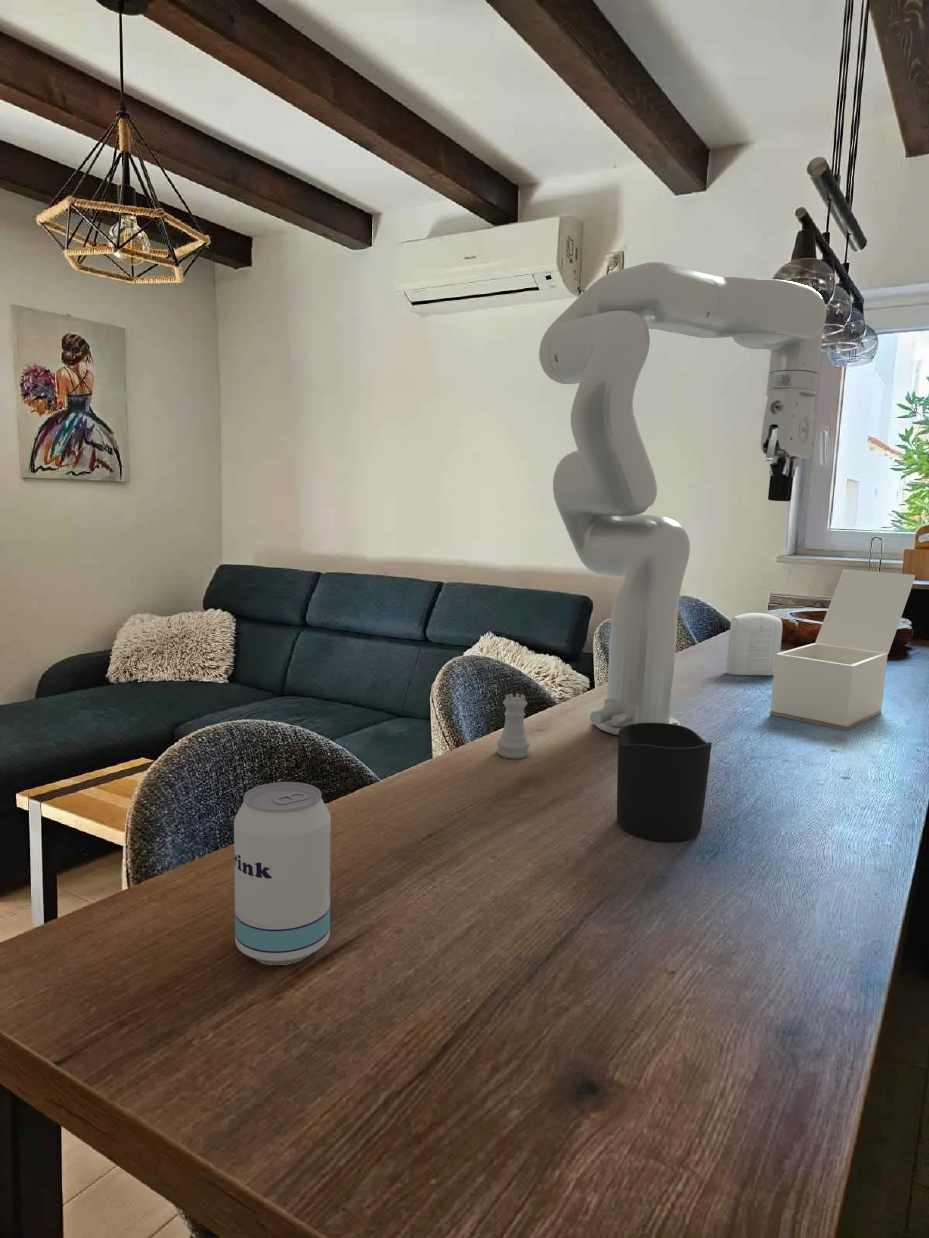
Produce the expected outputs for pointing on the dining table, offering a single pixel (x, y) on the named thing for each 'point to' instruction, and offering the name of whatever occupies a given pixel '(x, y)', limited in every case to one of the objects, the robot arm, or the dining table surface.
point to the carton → (828, 685)
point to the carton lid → (865, 610)
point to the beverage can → (282, 872)
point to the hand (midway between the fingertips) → (779, 500)
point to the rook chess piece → (514, 729)
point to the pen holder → (661, 781)
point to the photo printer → (753, 644)
